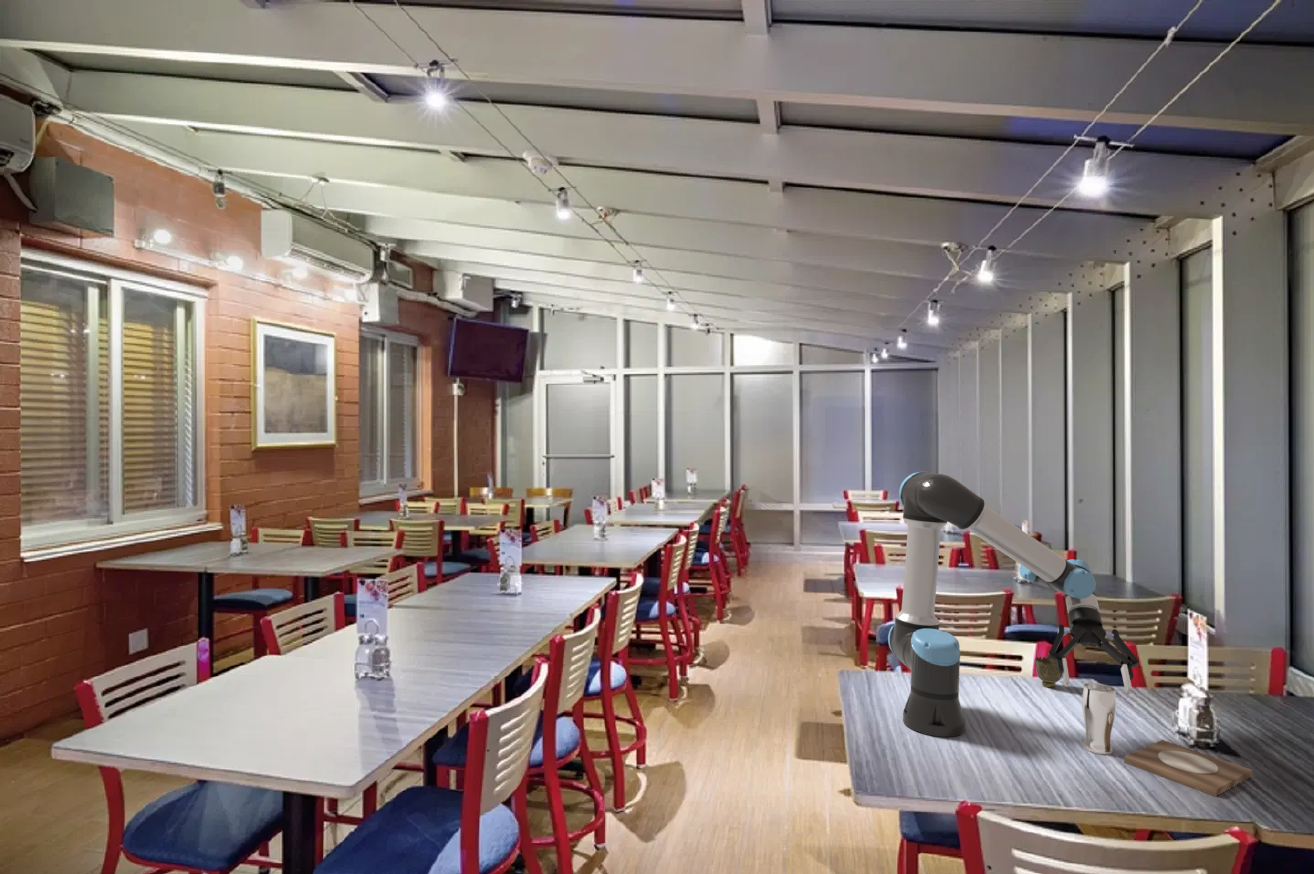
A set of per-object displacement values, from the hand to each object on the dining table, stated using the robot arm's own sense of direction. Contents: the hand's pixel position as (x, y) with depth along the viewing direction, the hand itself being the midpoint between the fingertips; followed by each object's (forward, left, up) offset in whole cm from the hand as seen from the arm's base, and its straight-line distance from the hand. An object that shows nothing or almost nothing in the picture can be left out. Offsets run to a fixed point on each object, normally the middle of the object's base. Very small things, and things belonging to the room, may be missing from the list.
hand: (1097, 687), depth 181 cm
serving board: (+1, -19, -13) cm, 23 cm away
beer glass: (-6, -3, -13) cm, 15 cm away
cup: (+27, +28, -13) cm, 41 cm away
